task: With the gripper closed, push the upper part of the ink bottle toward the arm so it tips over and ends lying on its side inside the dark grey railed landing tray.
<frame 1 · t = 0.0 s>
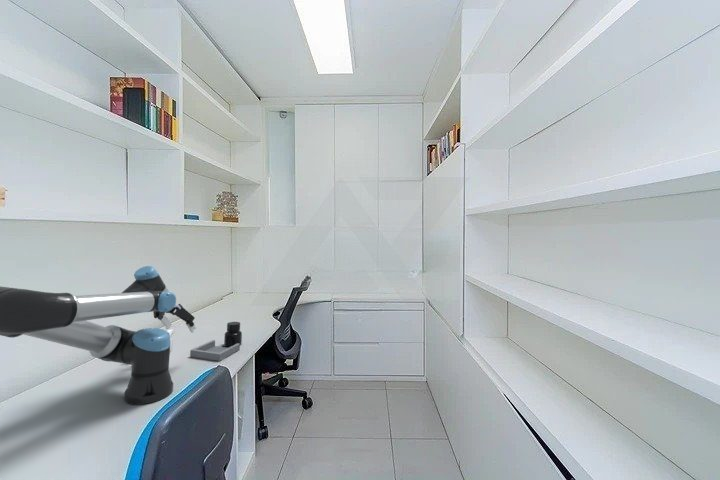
hand: (181, 328, 147), 15 cm above the table, tool tilted 35°, fingers open, 13 cm apart
landing tray: (215, 353, 157), on the table
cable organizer: (156, 356, 151), on the table
ink bottle: (232, 345, 171), on the table
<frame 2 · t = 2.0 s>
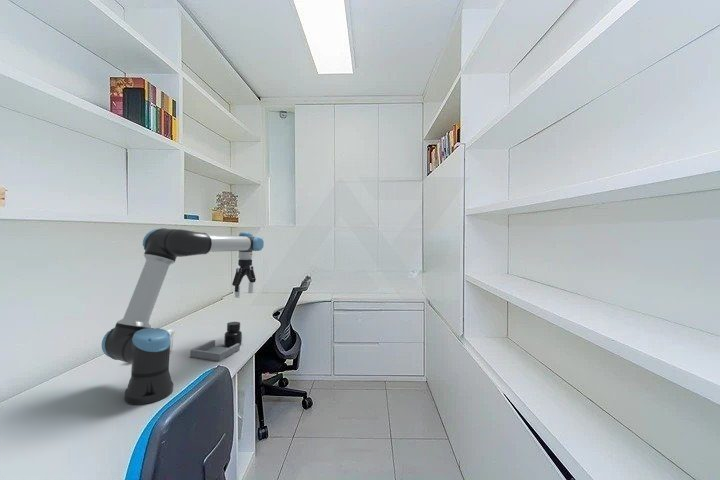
hand: (244, 295, 180), 26 cm above the table, tool pointing down, fingers open, 13 cm apart
nothing on the table moved.
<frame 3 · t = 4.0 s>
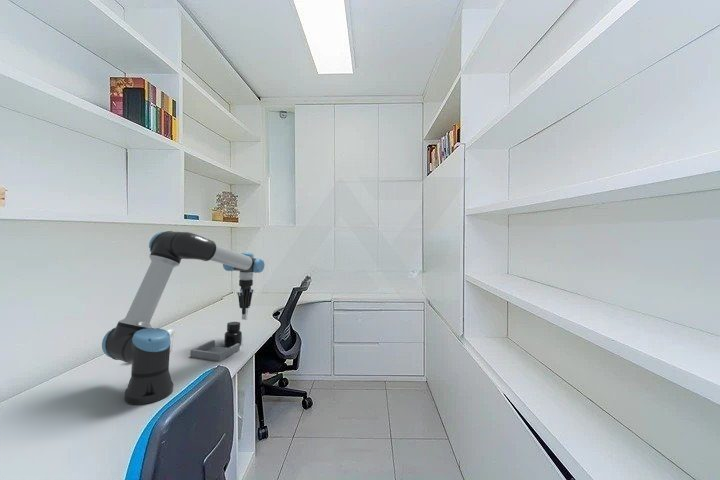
hand: (244, 319, 181), 12 cm above the table, tool pointing down, fingers closed
nothing on the table moved.
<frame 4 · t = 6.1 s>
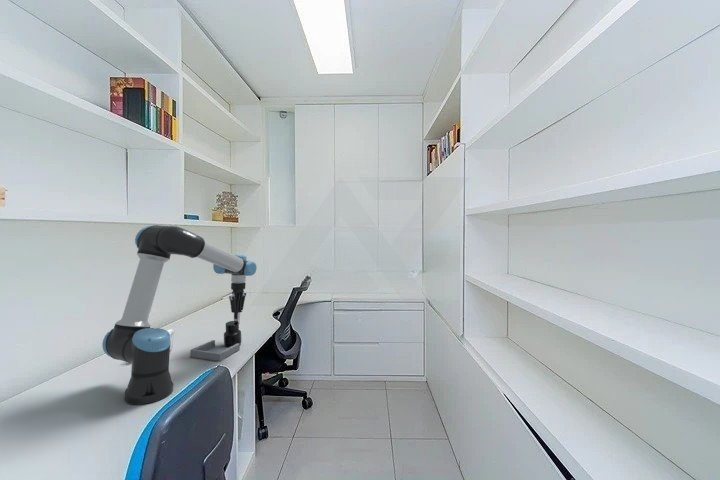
hand: (236, 324, 174), 11 cm above the table, tool pointing down, fingers closed
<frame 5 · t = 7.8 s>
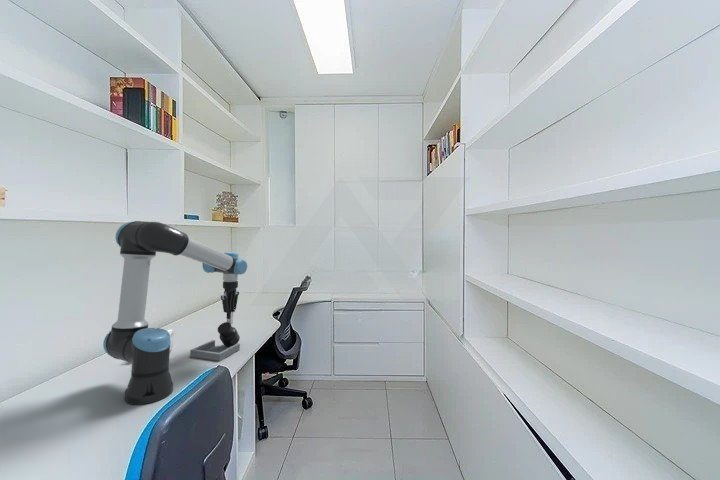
hand: (229, 324, 167), 13 cm above the table, tool pointing down, fingers closed
ink bottle: (232, 340, 170), point 3 cm above the table, touching gripper
everything else where it was.
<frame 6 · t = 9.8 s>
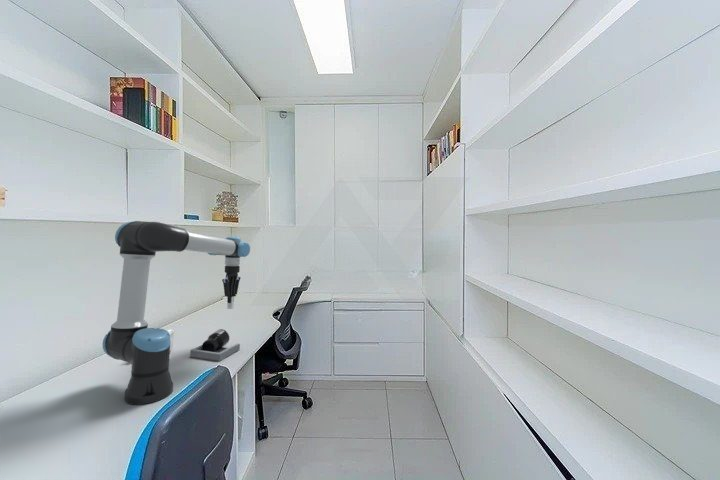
hand: (230, 308, 168), 21 cm above the table, tool pointing down, fingers closed
ink bottle: (222, 336, 167), point 6 cm above the table, touching landing tray
everything else where it was.
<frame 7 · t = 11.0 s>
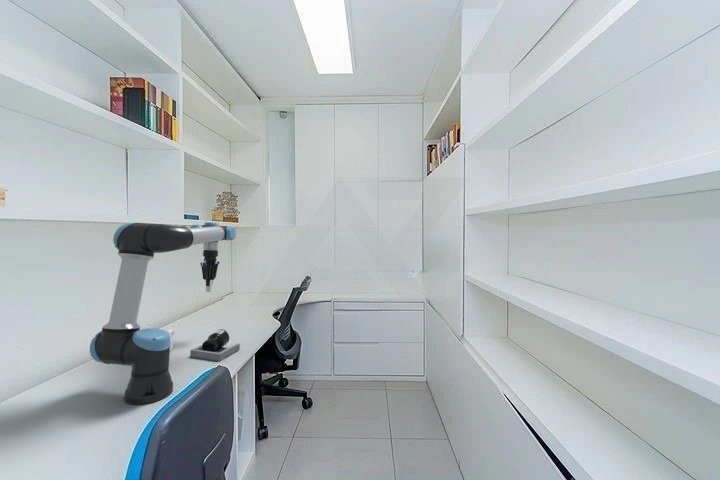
hand: (208, 291, 174), 28 cm above the table, tool pointing down, fingers closed
nothing on the table moved.
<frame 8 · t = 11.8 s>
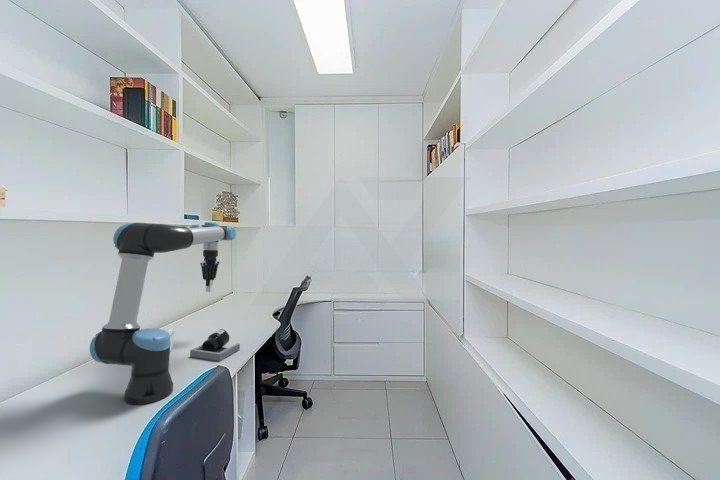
hand: (208, 291, 174), 28 cm above the table, tool pointing down, fingers closed
nothing on the table moved.
at the end: ink bottle tilted 98°; ink bottle touching landing tray; ink bottle inside the target area (3.7 cm from its centre), point 5.7 cm above the table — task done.
